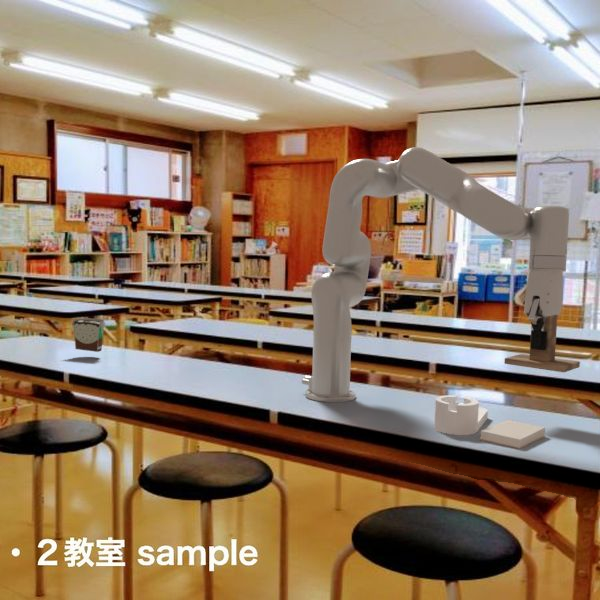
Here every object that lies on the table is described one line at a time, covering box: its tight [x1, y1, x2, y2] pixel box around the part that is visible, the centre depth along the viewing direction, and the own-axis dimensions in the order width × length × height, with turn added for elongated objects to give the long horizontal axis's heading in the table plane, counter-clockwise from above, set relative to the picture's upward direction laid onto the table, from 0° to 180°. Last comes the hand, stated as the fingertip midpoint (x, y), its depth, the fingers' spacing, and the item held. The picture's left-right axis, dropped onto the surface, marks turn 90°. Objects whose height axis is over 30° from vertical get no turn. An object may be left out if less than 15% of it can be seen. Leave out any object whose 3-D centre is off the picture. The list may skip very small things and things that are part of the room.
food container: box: [71, 317, 107, 353], centre depth 226 cm, size 12×6×10 cm, turn 65°
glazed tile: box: [479, 419, 546, 450], centre depth 134 cm, size 8×2×12 cm
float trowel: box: [504, 314, 581, 373], centre depth 147 cm, size 9×13×11 cm
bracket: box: [433, 394, 489, 436], centre depth 145 cm, size 20×9×7 cm, turn 155°
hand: (542, 347), depth 147 cm, fingers closed on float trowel, 4 cm apart
